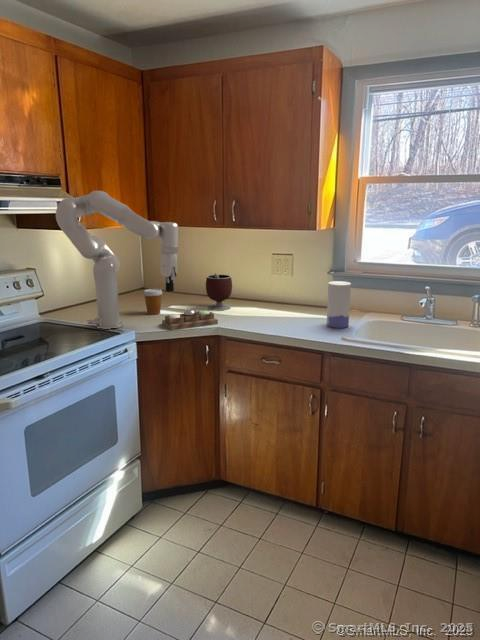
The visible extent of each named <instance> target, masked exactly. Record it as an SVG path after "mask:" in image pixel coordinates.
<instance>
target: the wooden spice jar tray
mask: <svg viewBox="0 0 480 640" xmlns="http://www.w3.org/2000/svg"><path fill="white" fill-rule="evenodd" d="M169 315H170V314H169ZM169 315H165V316H164V319H162V320H161V322H162V323H161V324H162V325H163V326H164V327H166V328H167V329H169V330H170V331H176V330H183V329H185V330H186V329H191V328H197V327H204V326H206V327H207V326H212V325H218V324H219V322H218V319H217V318H215V313H214V312H211V311H210V314H204V315H201V314H199V311H195V316H188V317H186V316H184V313H180V314H179V313H178V315H180V318H172V319H171V318H169Z"/></svg>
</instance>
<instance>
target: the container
mask: <svg viewBox="0 0 480 640" xmlns="http://www.w3.org/2000/svg"><path fill="white" fill-rule="evenodd" d="M327 286H328V287H327V288H328V289H327V306H326V307H327V309H326V326H328V327H330V328H335V329H344V328H348V327H349V323H350V321H349V320H350V307H351V306H350V305H351V288H352V287H351V286H352V283H351V282H349V281H344V280H343V281H341V280H337V281H336V280H335V281H329V282H328V285H327Z"/></svg>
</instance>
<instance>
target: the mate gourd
mask: <svg viewBox="0 0 480 640" xmlns="http://www.w3.org/2000/svg"><path fill="white" fill-rule="evenodd" d="M232 291H233V280H232V275H229V274H218V273H214V274H209V275H207V276H206V281H205V292H206V296H208V298H209V300H212V301H214V302H216V303H215V304H211V305H208V306H207V309H208V311H215V312H217V311H218V312H223V311H229V310H230V309H231V308H232V306H231V305H229V304H223V301H226V300H229V298H230V297H231V295H232Z"/></svg>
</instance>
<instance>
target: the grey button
mask: <svg viewBox="0 0 480 640" xmlns="http://www.w3.org/2000/svg"><path fill="white" fill-rule="evenodd" d="M195 312H196V310H195V309H185V310H184V313H183V314H184V316H186V317H188V316H195Z"/></svg>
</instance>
